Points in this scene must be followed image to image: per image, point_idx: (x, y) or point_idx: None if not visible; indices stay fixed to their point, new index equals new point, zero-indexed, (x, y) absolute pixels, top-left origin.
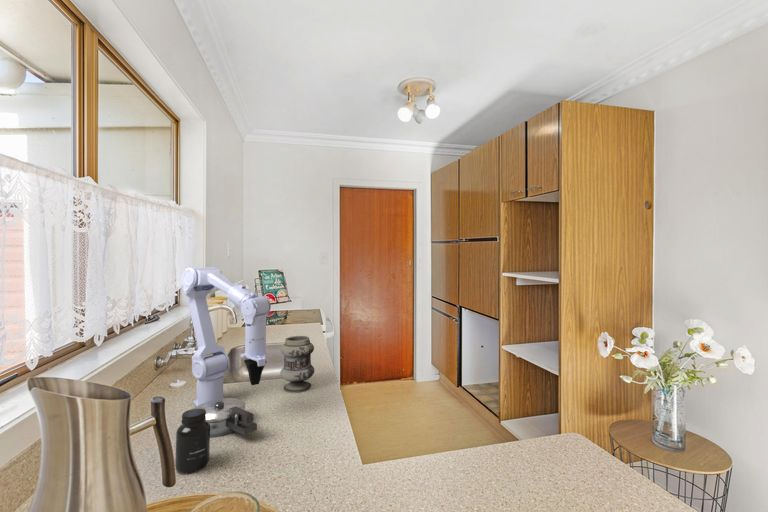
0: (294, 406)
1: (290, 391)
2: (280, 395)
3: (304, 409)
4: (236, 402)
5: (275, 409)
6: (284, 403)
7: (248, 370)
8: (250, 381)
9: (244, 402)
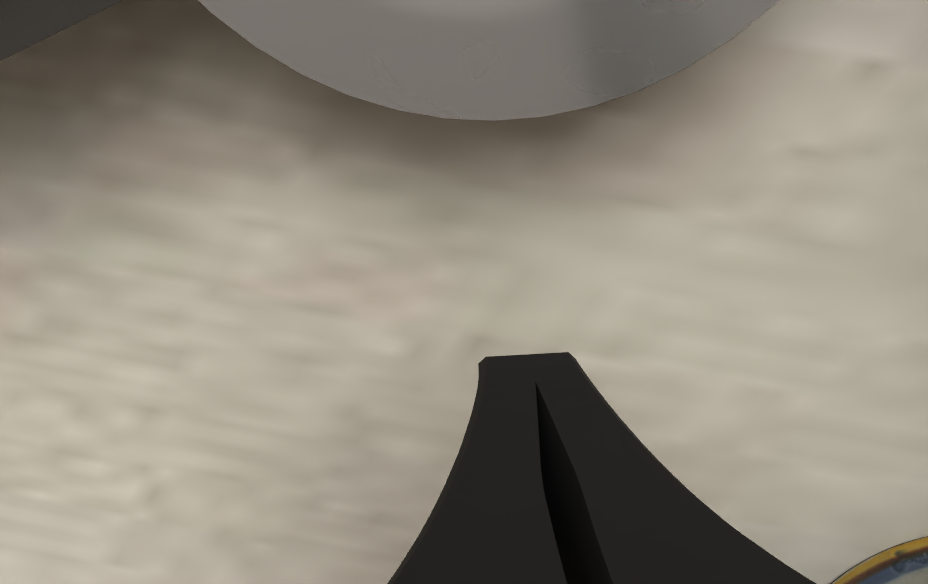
0: None
1: (865, 570)
2: (862, 481)
3: None
4: (577, 3)
5: None
6: None
7: (602, 532)
8: (535, 380)
9: (507, 117)
